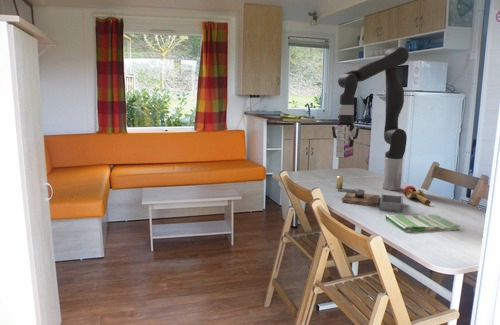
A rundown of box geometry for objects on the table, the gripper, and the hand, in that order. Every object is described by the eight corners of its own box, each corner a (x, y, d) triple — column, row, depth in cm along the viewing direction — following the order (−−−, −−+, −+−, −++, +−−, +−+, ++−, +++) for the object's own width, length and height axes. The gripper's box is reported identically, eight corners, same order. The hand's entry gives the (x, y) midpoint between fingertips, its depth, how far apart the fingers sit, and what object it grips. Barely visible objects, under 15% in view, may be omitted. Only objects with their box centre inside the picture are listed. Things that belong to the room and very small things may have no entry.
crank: (364, 195, 199) (365, 177, 197) (363, 197, 194) (364, 179, 193) (336, 192, 203) (337, 175, 202) (335, 194, 199) (336, 177, 198)
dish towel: (461, 231, 156) (462, 225, 155) (405, 234, 152) (406, 227, 152) (433, 217, 173) (434, 211, 173) (382, 219, 169) (383, 213, 169)
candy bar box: (344, 154, 215) (345, 123, 212) (353, 155, 212) (354, 124, 209) (335, 157, 206) (336, 125, 203) (344, 158, 203) (345, 125, 200)
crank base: (379, 197, 202) (379, 194, 202) (377, 206, 187) (377, 202, 187) (346, 194, 207) (347, 191, 207) (342, 202, 193) (342, 199, 192)
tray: (402, 203, 192) (402, 196, 192) (402, 212, 178) (402, 204, 177) (381, 201, 196) (381, 194, 195) (379, 209, 181) (379, 202, 181)
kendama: (435, 207, 191) (414, 193, 208) (435, 195, 189) (414, 182, 206) (420, 211, 190) (400, 196, 207) (420, 199, 188) (400, 185, 205)
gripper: (361, 113, 206) (359, 146, 209) (333, 113, 211) (332, 145, 214) (360, 114, 199) (358, 148, 202) (330, 113, 204) (329, 146, 207)
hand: (344, 146), depth 208 cm, fingers closed on candy bar box, 5 cm apart
